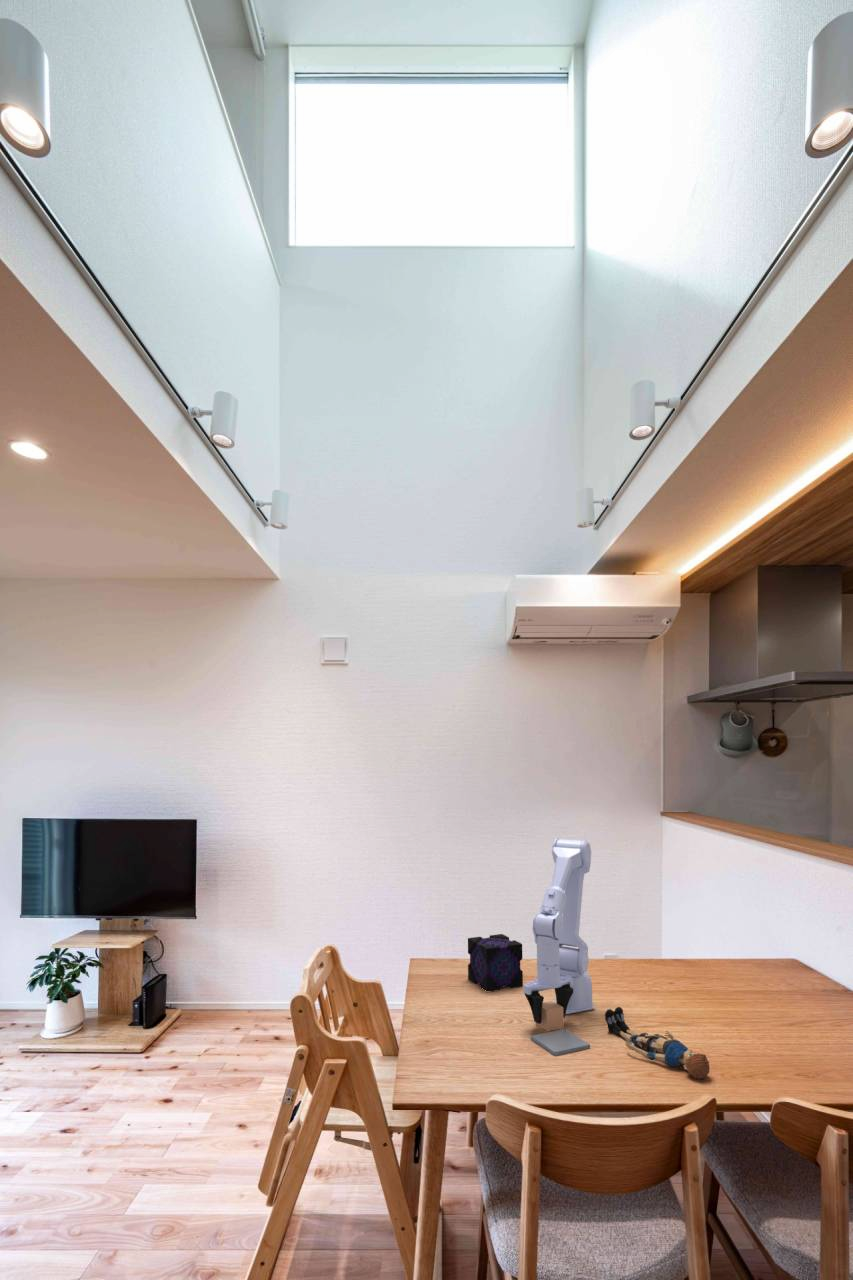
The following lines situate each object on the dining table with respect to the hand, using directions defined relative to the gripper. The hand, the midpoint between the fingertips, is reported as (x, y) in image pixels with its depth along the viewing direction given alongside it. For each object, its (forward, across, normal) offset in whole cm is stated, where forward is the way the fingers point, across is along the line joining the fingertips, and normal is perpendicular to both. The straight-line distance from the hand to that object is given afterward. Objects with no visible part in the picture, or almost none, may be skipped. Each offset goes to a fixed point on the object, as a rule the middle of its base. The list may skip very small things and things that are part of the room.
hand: (549, 1019), depth 181 cm
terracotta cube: (+2, 0, 0) cm, 2 cm away
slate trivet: (+2, +5, +10) cm, 11 cm away
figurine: (+2, -12, +24) cm, 27 cm away
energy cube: (+2, -6, -34) cm, 34 cm away
